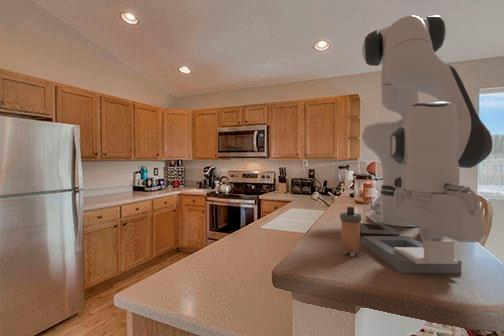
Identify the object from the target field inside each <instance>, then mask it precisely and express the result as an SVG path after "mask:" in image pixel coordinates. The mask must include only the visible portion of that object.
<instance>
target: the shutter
mask: <svg viewBox="0 0 504 336" xmlns="http://www.w3.org/2000/svg"><path fill="white" fill-rule="evenodd" d="M394 250H395V251H396V252H398V253H400V254H401V255H403V256H405V257H406V258H408V259H410V260H411V261H413V262H415V263H416V264H458V260H459V259H458V260H456V259H457V258H456V259H454V258H455V240H452V239H442V240H424V249H423V247H394Z"/></svg>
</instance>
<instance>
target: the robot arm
mask: <svg viewBox="0 0 504 336" xmlns="http://www.w3.org/2000/svg"><path fill="white" fill-rule="evenodd" d="M446 35H447V27H446V23H445V20H444V18H443V17H441V16H440V15H426V17H423V18H420V17H419V16H417V15H407V16H403V17H401V18H399V19H397V20H396V21H394V22H393V23H392V24H391V25H389V26H387V27H384V28H382V29H379V30H378V29H376V30H374V31H372V32H370V33H368V34H367V35H366V36H365V37H364V41H363V43H362V47H361V53H362V57H363V60H364V61H365V63H366V64H367V65H368V66H369V67H370V66H372V67H374V66H375V67H376V66H378V67H379V65H381V66H382V67H381V75H380V76H381V82H380V83H381V85H380V87H381V104H382V106H383V108H385V109H386V110H387V111H391V112H394V113H397V114H399V115H400V116H401V119H393V120H382V121H380V120H379V121H376V122H373V123H369V124H367V125H366V126H365V127H364V129H363V131H362V135H361V136H362V137H361V138H362V142H363V144H364V145H365V146H366V148H367V149H370V150H371V151H372V152H373V153H374V154H375V155H376V156H377V157H378V159H379V162H380V164H381V169H382V185H381V187H380V195H379V196H378V197H377V198H376V199H375V200H374V201H373V202H372V204H370V210H371V212H368V213H366V214H365V216H366V217H367V219H369V220H370V221H372V223H373V224H386V225H387V226H394V227H406V228H407V227H408V228H411V227H412V228H415V227H418V233H419V237H420V238H421V241H422V243H423V249H424V240H444V237H445V238H448V239H450V240H453V241H457V242H459V243H479V242H481V241H482V239H484V236H485V233H484V220H483V219H484V218H483V213H482V208H481V204H480V202H479V198H478V194H477V193H476V192H475V191H474V190H472V188H471V187H470V186H468V185H460V172H461V171H460V168H464V169H470V168H474V167H476V166H477V165H479V164H481V163H482V162H483V161H484V160H486V159H487V157H489V156H490V154H491V153H492V151H493V150H492V149H493V138H492V135H491V133H490V130H488V128H487V127H486V125H485V124H484V123H483V121H482V120H481V118H480V117H479V115H478V113H477V111H476V108H475V107H474V104H473V102H472V100H471V97H470V96H469V94H468V92H467V89H466V87H465V85H464V82H463V81H462V79H461V77H460V75H459V72H457V70H456V68H455V67H454V66H453V65H451V64H448V63H446V62H444V60H442V59H441V58H440V57H439V55H437V53H436V52H438V51H439V49H441V48H442V47H443V44H444V42H445V39H446ZM419 93H422V94H425V95H428V96H432V97H433V98H435V99H437V100H438V101H434V102H433V101H432V102H421V103H420V99H419Z"/></svg>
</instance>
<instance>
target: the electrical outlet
mask: <svg viewBox="0 0 504 336" xmlns="http://www.w3.org/2000/svg"><path fill="white" fill-rule="evenodd" d="M360 234H362V235H363V236H401V234H400V233H399V232H397V231H396V230H395V229H393V228H392V227H391V226H390V225H387V224H380V223H374V222H372V223H370V222H368V223H367V222H360Z"/></svg>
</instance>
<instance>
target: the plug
mask: <svg viewBox="0 0 504 336" xmlns="http://www.w3.org/2000/svg"><path fill="white" fill-rule="evenodd" d="M339 217H340V218H339V220H341V227H340V228H341V229H340V230H341V233H340V235H341V239H340V240H341V244H340V246H341V250H342V254H344V255H348V254H349V256H350V257H352V258H353V257H354V258H355V257H356V254H357V253H360V251H361V248H360V247H361V232H360V223H361V222H362V215H361V214H359V213H356V212H355V207H354V206H346V212H341V213H339Z"/></svg>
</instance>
